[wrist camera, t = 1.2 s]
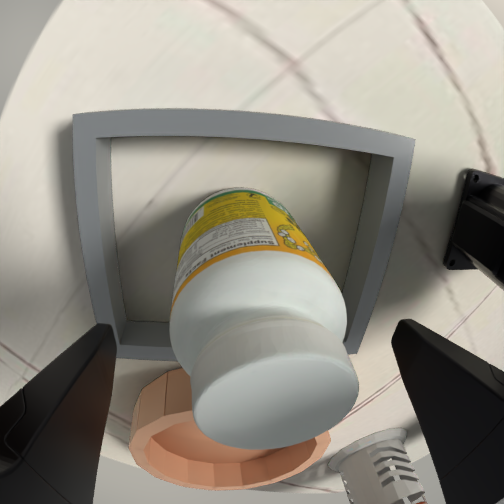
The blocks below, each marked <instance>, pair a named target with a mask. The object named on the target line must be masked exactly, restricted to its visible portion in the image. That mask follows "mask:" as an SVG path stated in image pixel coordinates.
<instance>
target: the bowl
mask: <svg viewBox="0 0 504 504" xmlns="http://www.w3.org/2000/svg"><path fill="white" fill-rule="evenodd" d="M330 442H331V438H330V435H329V431H328V430H327V431H326V432H324V433H322V434H320V435H318V436H316V437H314V438H312V439H309V440H307V441H304V442H301V443H298V444H295V445H291V446H287V447H282V448H275V449H264V450H248V449H240V448H235V447H230V446H226V445H223V444H220V443H218V442H216V441H214V440H212V439H210V438H209V437H207V436H206V435H204V434H203V433H202V432H201V430H200V429H199V428H198V426H197V425H196V423H195V421H194V418H193V412H192V389H191V384H190V376H189V375H188V374H187V372H186V371H185V370H184V369H183V368H179V369H175V370H171V371H168V372H166V373H165V374H163V375H162V376H160V377H159V378H157V379H156V380H154V381H153V382H151V383H150V384H149V385H147V386H146V387H144V388H143V389H142V390H141V393H140V395H139V397H138V400H137V402H136V405H135V407H134V411H133V418H132V425H131V432H130V440H129V450H130V452H131V454H132V456H133V458H134V460H135V462H136V464H137V465H139V466H140V467H141V468H143V469H144V470H146V471H147V472H149V473H150V474H151V475H153V476H154V477H156V478H159V479H162V480H164V481H167V482H170V483H173V484H176V485H179V486H183V487H189V488H196V489H204V490H239V489H248V488H253V487H258V486H263V485H268V484H272V483H274V482H275V483H276V482H278V481H281V480H283V479H286V478H288V477H291V476H293V475H295V474H298V473H300V472H302V471H303V470H305V469H306V468H308V467H309V466H310V465H312V464H313V463H314V462H316V461H317V460H318V459H320V458H321V457H322V455H323V454H324V452H325V450H326V449H327V447H328V445H329V444H330Z"/></svg>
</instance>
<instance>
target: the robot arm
mask: <svg viewBox="0 0 504 504" xmlns="http://www.w3.org/2000/svg"><path fill="white" fill-rule="evenodd" d="M443 265H444V266H445V267H446V268H447V269H449V270H468V269H479V270H480V271H481V272H483V273H484V274H485V275H486V276H487V277H489V278H490V279H491V280H492V281H493V282H494V283H496V284H497V285H498V286H499V287H500V288H501V289H503V290H504V178H501V177H498V176H495V175H492V174H489V173H486V172H483V171H479V170H476V169H470V170H469V171H468V173H467V177H466V181H465V186H464V190H463V194H462V198H461V202H460V206H459V210H458V214H457V218H456V221H455V225H454V228H453V232H452V235H451V238H450V241H449V245H448V248H447V251H446V254H445V257H444V260H443ZM391 344H392V348H393V351H394V354H395V357H396V361H397V364H398V367H399V370H400V374H401V377H402V380H403V383H404V385H405V388H406V390H407V393H408V395H409V398H410V400H411V403H412V405H413V408H414V411H415V413H416V416H417V418H418V421H419V424H420V426H421V429H422V432H423V434H424V437H425V440H426V443H427V446H428V448H429V451H430V454H431V457H432V460H433V463H434V466H435V469H436V472H437V475H438V478H439V480H440V481H439V482H440V485H441V488H442V491H443V495H444V498H445V502H446V504H504V372H503V371H502V370H500V369H498V368H496V367H495V366H493V365H491V364H489V363H488V362H486V361H484V360H483V359H481V358H479V357H477V356H476V355H474V354H472V353H470V352H469V351H467V350H465V349H463V348H462V347H460V346H458V345H456V344H455V343H453V342H451V341H449V340H448V339H446V338H444V337H442V336H441V335H439V334H437V333H435V332H434V331H432V330H430V329H428V328H427V327H425V326H423V325H421V324H419V323H418V322H416V321H414V320H412V319H402V320H400V321H399V322H398V325H397V327H396V329H395V332H394V334H393V336H392V340H391ZM116 355H117V345H116V340H115V336H114V332H113V327H112V325H111V324H107V323H98V324H96V325H95V326H94V327H92V328H91V329H90V330H89V331H88V332H86V333H85V334H84V335H83V336H82V337H80V338H79V339H78V340H77V341H76V342H74V343H73V344H72V345H71V346H70V347H68V348H67V349H66V350H65V351H64V352H63V353H61V354H60V355H59V356H58V357H57V358H56V359H54V360H53V361H52V362H51V363H50V364H49V365H47V366H46V367H45V368H44V369H43V370H42V371H41V372H39V373H38V374H37V375H36V376H35V377H34V378H33V379H31V380H30V381H29V382H28V383H27V384H26V385H25V386H24V387H23V389H20V390H19V391H18V392H17V393H16V394H14V395H13V396H12V397H11V398H10V399H9V400H8V401H6V402H5V403H4V404H3V405H2V406H0V504H93V497H94V489H95V482H96V475H97V469H98V463H99V457H100V451H101V446H102V440H103V435H104V430H105V425H106V420H107V415H108V411H109V406H110V401H111V396H112V388H113V379H114V370H115V362H116Z"/></svg>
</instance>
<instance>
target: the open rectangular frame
mask: <svg viewBox="0 0 504 504" xmlns="http://www.w3.org/2000/svg"><path fill="white" fill-rule="evenodd" d="M122 136H211V137H233V138H249V139H263V140H274V141H285V142H295V143H304V144H312V145H320V146H328V147H335V148H342V149H349V150H355V151H362V152H368V153H372V157H371V163H370V169H369V175H368V180H367V186H366V191H365V196H364V202H363V207H362V212H361V216H360V221H359V226H358V230H357V235H356V239H355V244H354V248H353V252H352V257H351V261H350V265H349V269H348V273H347V277H346V281H345V285H344V288H343V292H342V296H343V299H344V302H345V306H346V313H347V326H346V332H345V336H344V339H343V342H342V343H343V345H344V346H345V349H346V351H347V354H357V352H358V350H359V347H360V344H361V342H362V339H363V336H364V334H365V331H366V328H367V325H368V323H369V320H370V317H371V314H372V311H373V308H374V305H375V302H376V299H377V296H378V293H379V290H380V287H381V284H382V281H383V277H384V274H385V271H386V267H387V264H388V261H389V257H390V254H391V250H392V246H393V243H394V239H395V235H396V231H397V227H398V223H399V219H400V215H401V211H402V207H403V202H404V198H405V193H406V189H407V184H408V179H409V174H410V169H411V163H412V158H413V152H414V146H415V140H416V139H413V138H409V137H405V136H401V135H398V134H394V133H389V132H385V131H380V130H376V129H371V128H366V127H361V126H355V125H350V124H344V123H339V122H333V121H326V120H320V119H313V118H306V117H298V116H290V115H281V114H272V113H261V112H250V111H235V110H217V109H179V108H167V109H129V110H111V111H98V112H87V113H79V114H73V163H74V181H75V194H76V205H77V214H78V223H79V231H80V239H81V246H82V252H83V258H84V264H85V270H86V276H87V281H88V286H89V291H90V296H91V301H92V305H93V310H94V314H95V318H96V323H97V324H98V323H107V324H111V325H112V327H113V332H114V336H115V340H116V345H117V355H116V358H126V359H141V360H160V361H178V360H177V358H176V356H175V354H174V351H173V348H172V345H171V341H170V331H169V329H170V322H144V321H127V320H126V314H125V308H124V302H123V295H122V288H121V281H120V274H119V266H118V258H117V249H116V239H115V228H114V215H113V200H112V179H111V137H122Z"/></svg>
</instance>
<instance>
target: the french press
mask: <svg viewBox="0 0 504 504" xmlns="http://www.w3.org/2000/svg"><path fill="white" fill-rule="evenodd" d="M406 435H407V431H406V430H404V429H402V428H393V429H387V430H384V431H380V432H377V433H374V434H371V435H369V436H367V437H364V438H362V439H360V440H357V441H355V442H354V443H352V444H350V445H349V446H347V447H345V448H343V449H342V450H340V451H339V452H338V453H337V454H336V455H334V456H333V457H332V458H331V460H330V462H329V464H328V466H329V468H330V469H331V470H334V471H336V472H340V474H341V477H342V481H343V483H344V487H345V490H346V492H347V494H348V495H347V496H348V499H349V501H350V503H351V504H404V501H403V499H402V498H404V497H407V498H408V499H409V501H410V502H411V504H414V503H413V501H415V500H416V499H418V498H419V497H421V496H422V497H423V499H424V502H419V503H416V504H427V502H426V499H425V496H424V495H423V494H424V493H425V492H424V489H423V487H422V484H420V483H418V482H417V480H419V478H418V476H417V474H415V473H413V471H415V469H414V467H413V465H411V464H409V462H411V461H410V459H409V457H408V456H407V455H405V454H407V452H406V450H405V448H404V446H403V444H404V442H405V439H406ZM390 458H392V460H390V461H387V460H389V459H390ZM393 465H395V467H396V470H392V471H391V470H390V468H389V466H393ZM396 475H399V476H400V479H401V480H398V481H395V480H394V477H393V476H396ZM344 480H345V481H347V484H346V483H345V482H344ZM348 489H349V490H350V493H349V492H348V491H347V490H348ZM350 499H353V502H354V503H353V502H352V501H351V500H350Z"/></svg>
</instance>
